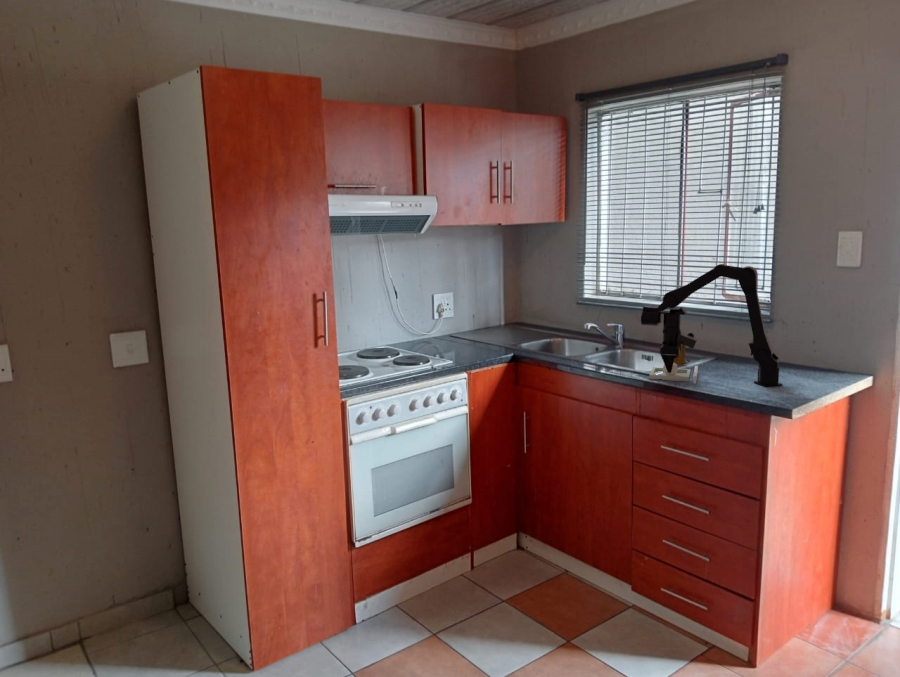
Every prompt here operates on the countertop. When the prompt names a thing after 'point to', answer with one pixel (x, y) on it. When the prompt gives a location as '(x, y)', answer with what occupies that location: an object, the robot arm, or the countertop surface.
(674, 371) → the ball
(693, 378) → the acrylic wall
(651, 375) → the tray
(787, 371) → the countertop surface
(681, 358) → the condiment
